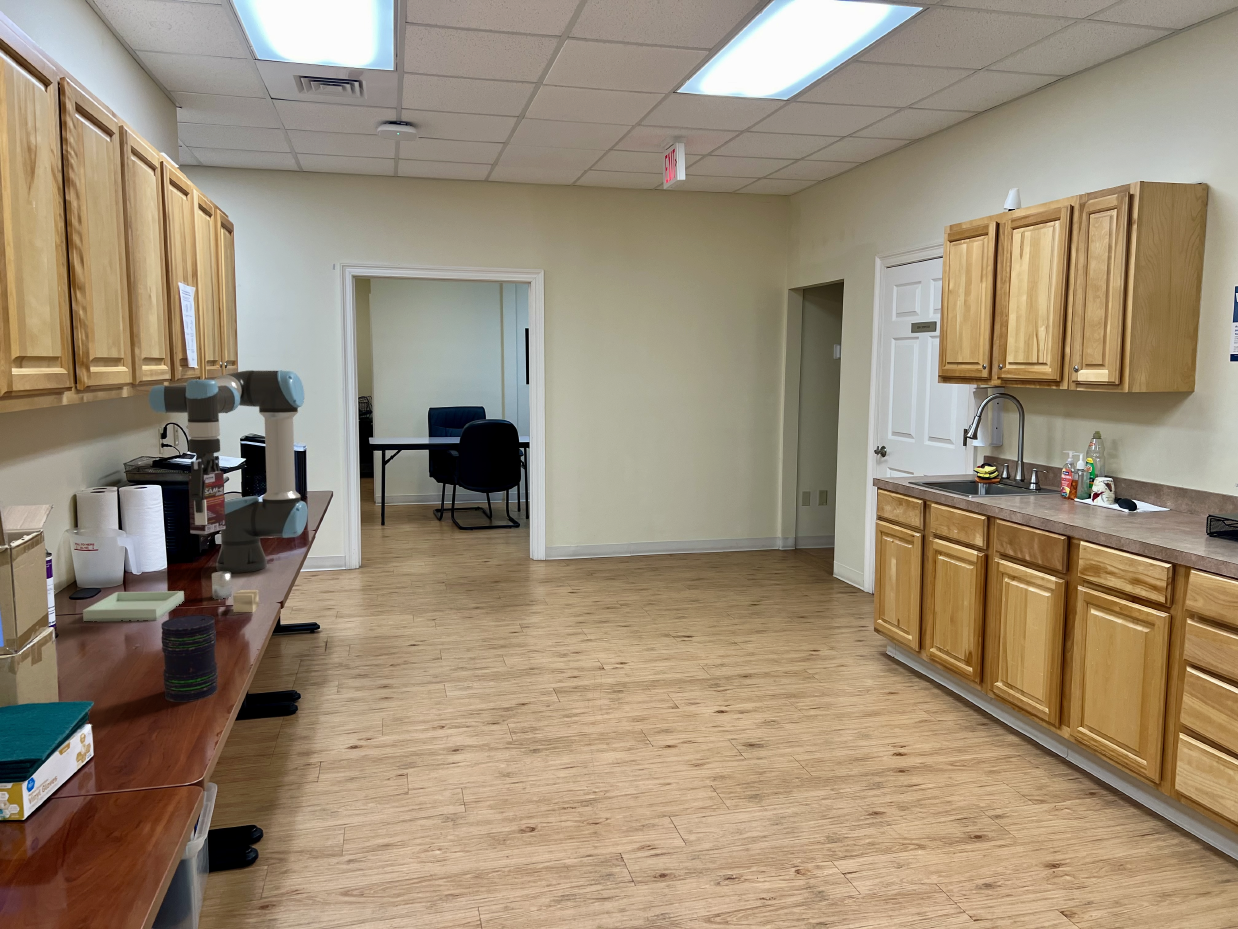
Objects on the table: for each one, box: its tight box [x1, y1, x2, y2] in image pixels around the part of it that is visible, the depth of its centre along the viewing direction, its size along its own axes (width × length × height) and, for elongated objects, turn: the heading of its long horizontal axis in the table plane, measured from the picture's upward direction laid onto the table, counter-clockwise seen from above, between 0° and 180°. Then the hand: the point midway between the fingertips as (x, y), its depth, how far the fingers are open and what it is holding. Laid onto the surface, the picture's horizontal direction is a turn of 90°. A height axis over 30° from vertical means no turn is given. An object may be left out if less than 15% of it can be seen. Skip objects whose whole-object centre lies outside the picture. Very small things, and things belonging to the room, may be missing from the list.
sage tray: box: [82, 590, 185, 623], centre depth 230 cm, size 18×18×3 cm
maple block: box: [232, 589, 260, 613], centre depth 232 cm, size 5×5×5 cm
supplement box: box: [188, 470, 225, 535], centre depth 228 cm, size 9×5×16 cm, turn 169°
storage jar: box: [160, 614, 219, 703], centre depth 173 cm, size 10×10×15 cm
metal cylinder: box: [211, 571, 233, 600], centre depth 245 cm, size 5×5×7 cm
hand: (208, 521), depth 229 cm, fingers closed on supplement box, 9 cm apart
